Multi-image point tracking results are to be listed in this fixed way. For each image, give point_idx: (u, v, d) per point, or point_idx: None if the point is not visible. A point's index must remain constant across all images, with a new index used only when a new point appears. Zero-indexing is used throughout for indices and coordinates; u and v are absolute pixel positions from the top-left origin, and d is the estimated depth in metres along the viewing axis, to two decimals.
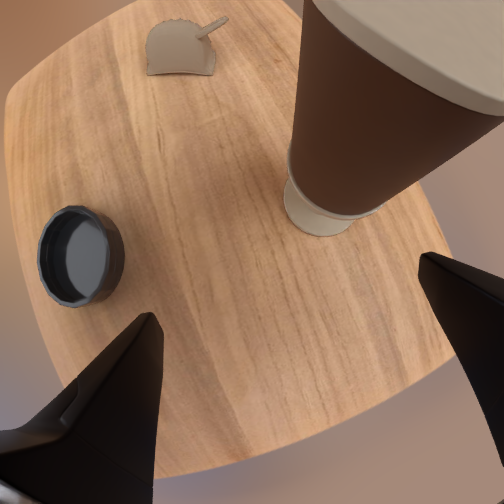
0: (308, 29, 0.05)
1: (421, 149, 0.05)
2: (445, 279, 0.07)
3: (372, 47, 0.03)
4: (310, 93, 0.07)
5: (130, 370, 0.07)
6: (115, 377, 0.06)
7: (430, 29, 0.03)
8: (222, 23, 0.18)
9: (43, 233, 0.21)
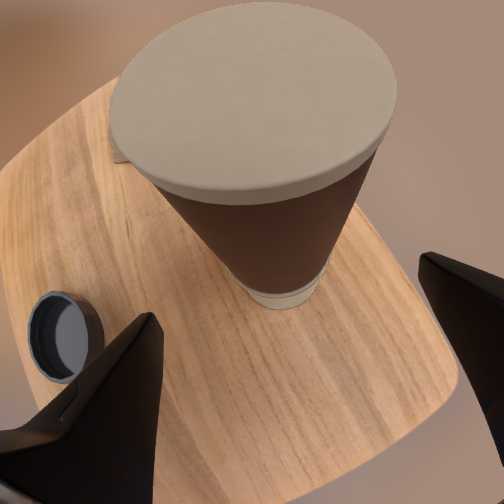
0: None
1: (263, 243, 0.06)
2: (445, 279, 0.07)
3: (144, 175, 0.05)
4: None
5: (130, 370, 0.07)
6: (115, 377, 0.06)
7: (195, 131, 0.04)
8: None
9: (31, 315, 0.22)
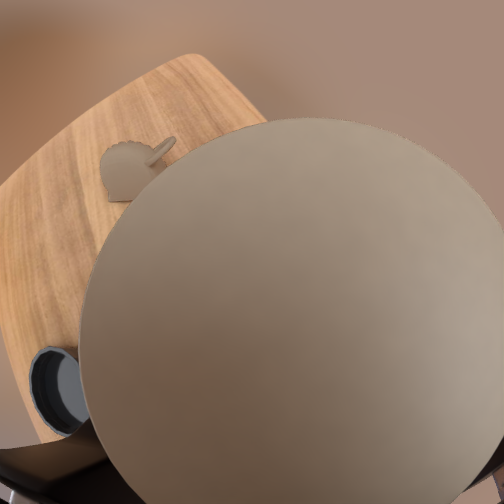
0: None
1: None
2: None
3: None
4: None
5: None
6: None
7: None
8: (169, 147, 0.20)
9: (31, 367, 0.20)
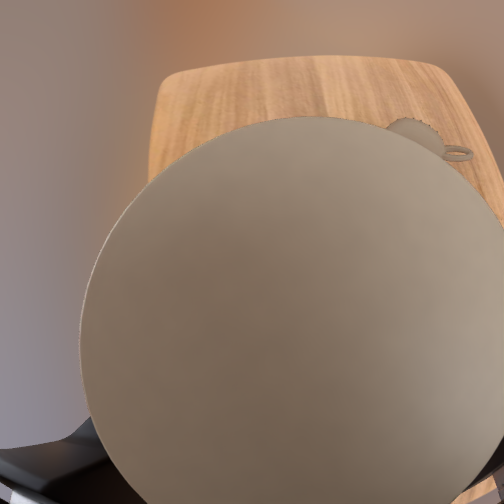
0: None
1: None
2: None
3: None
4: None
5: None
6: None
7: (246, 503, 0.02)
8: (470, 158, 0.18)
9: None
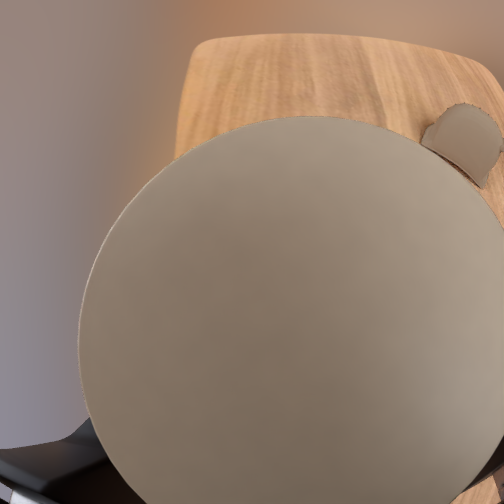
0: None
1: None
2: None
3: None
4: None
5: None
6: None
7: None
8: None
9: None
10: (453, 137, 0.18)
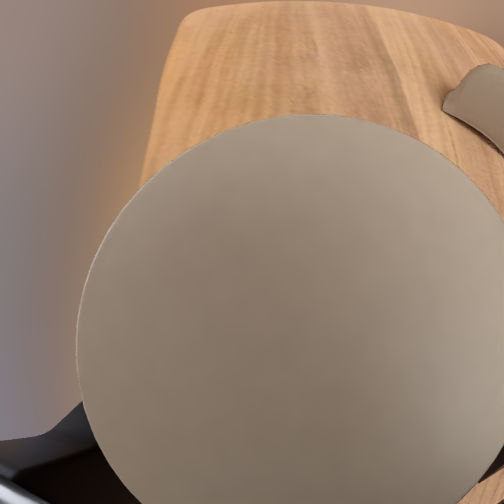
0: None
1: None
2: None
3: None
4: None
5: None
6: None
7: None
8: None
9: None
10: (479, 101, 0.13)
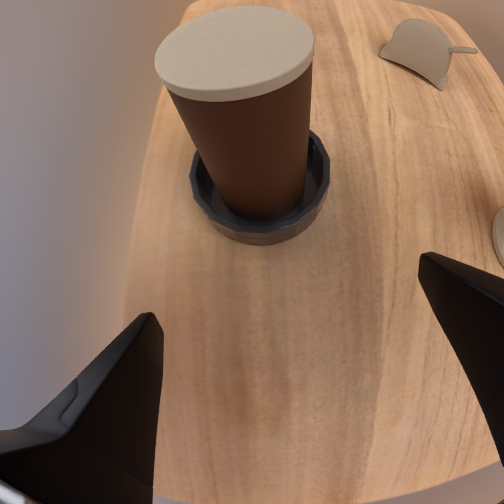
0: None
1: (242, 138, 0.10)
2: (445, 279, 0.07)
3: (176, 91, 0.08)
4: (186, 127, 0.12)
5: (130, 370, 0.07)
6: (115, 377, 0.06)
7: (204, 69, 0.08)
8: (475, 52, 0.15)
9: None
10: (405, 44, 0.19)
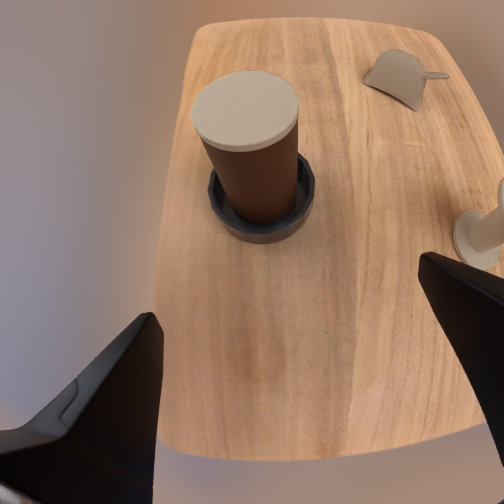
0: None
1: (251, 172, 0.16)
2: (445, 279, 0.07)
3: (209, 143, 0.14)
4: None
5: (130, 370, 0.07)
6: (115, 377, 0.06)
7: (227, 128, 0.14)
8: (446, 77, 0.21)
9: None
10: (384, 73, 0.24)
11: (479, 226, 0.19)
